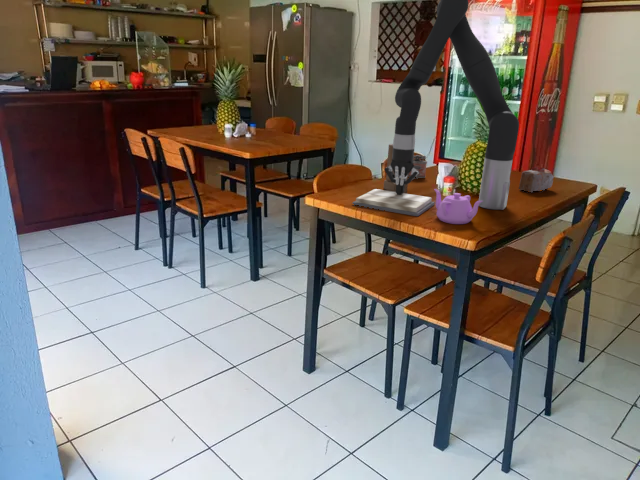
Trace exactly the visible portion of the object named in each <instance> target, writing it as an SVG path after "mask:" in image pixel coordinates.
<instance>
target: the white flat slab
mask: <svg viewBox="0 0 640 480" xmlns="http://www.w3.org/2000/svg"><path fill="white" fill-rule="evenodd" d="M355 201H356V202H358V203H364V204H369V205H375V206H381V207H387V208H393V209H399V210H405V211H411V212H417V211H419V210H420V209H422V208H423V207H424V203H422V202H415V201H409V200H403V199H397V198H390V197H384V196H378V195H371V194H366V193H364V194H362V195H360V196H358V197H356V198H355Z"/></svg>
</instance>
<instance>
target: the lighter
mask: <svg viewBox="0 0 640 480" xmlns="http://www.w3.org/2000/svg"><path fill="white" fill-rule="evenodd" d="M426 158H427V155H418V154H416V155H414V159H413V164H414V168H415V169H416V170H417V171H419V174H418V175H417V176H416V178H415V179H418V178H425V177H426V171H427V163H428V161H427V160H426ZM411 172H412V171H411ZM411 172H410V173H409V176H408V177H410V176H411ZM425 179H426V178H425Z"/></svg>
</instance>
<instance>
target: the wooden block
mask: <svg viewBox="0 0 640 480" xmlns="http://www.w3.org/2000/svg"><path fill="white" fill-rule="evenodd" d="M392 153H393V143H389V144H388V151H387V162H386V163H387V165H386V167H388V166H390V164H391V162H392ZM392 172H393V174H394V175H395V173H394V171H393V169H392ZM385 175H386V179H384V180H383V189H384V190H386V191H392V192H396V184H395V183H394V182H391V180H390V178H389V177H388V175H387V174H385ZM408 176H409V174H408V175H407V178H406V180H407V179H408ZM408 185H409V184H406V185H405V190H404V193H406V194H408Z"/></svg>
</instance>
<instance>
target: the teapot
mask: <svg viewBox="0 0 640 480" xmlns="http://www.w3.org/2000/svg"><path fill="white" fill-rule="evenodd" d="M433 190H434V192H435V193H436V198H435V208H436V217H437V218H438V219H439V221H441V222H444V223H447V224H451V225H465V224H468V223H470V222H471V221H472V220H473V218H474V217H475V216H476V215H477V213H478V209H479V207H480V206H479V204H480V203H481V202H483V201H479V200H477V201H475V202H474V205H473V207H472V204H471V202H470V201H471V196H470V195H468V194H467V195H464V196H463V195H462V193H458V192H455V193H453V194H452V195H450V194H449V195H446V196H445V197H444V198H443V200H442V195H441V192H440V190H438V189H437V188H434V189H433ZM461 195H462V196H461Z"/></svg>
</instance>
